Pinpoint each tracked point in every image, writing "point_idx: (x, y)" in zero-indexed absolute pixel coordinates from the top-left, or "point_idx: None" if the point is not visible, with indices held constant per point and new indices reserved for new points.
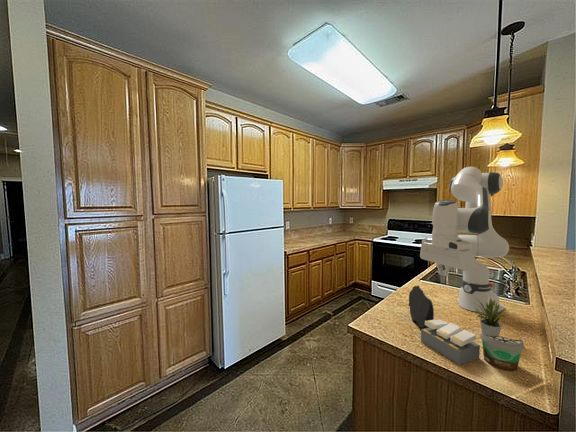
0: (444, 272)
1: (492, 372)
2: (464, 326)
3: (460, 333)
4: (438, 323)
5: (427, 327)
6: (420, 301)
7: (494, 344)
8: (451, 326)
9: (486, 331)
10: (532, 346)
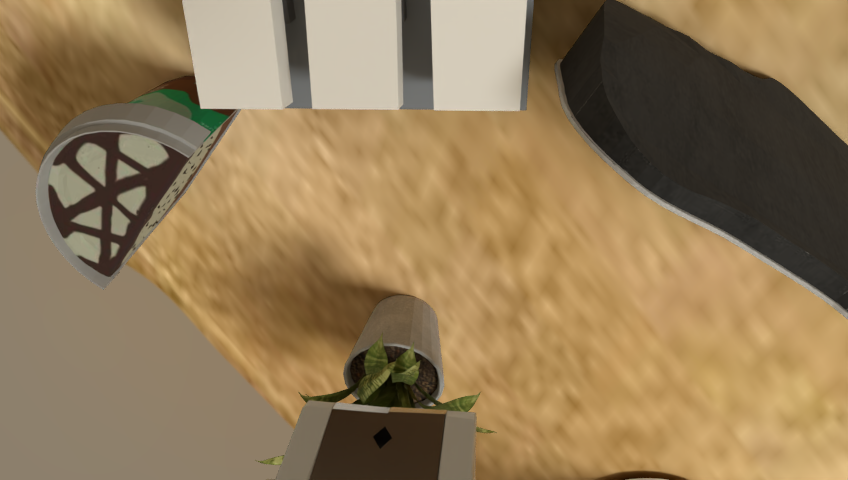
0: (306, 464)
1: (139, 13)
2: (536, 317)
3: (260, 34)
4: (451, 18)
5: (586, 27)
6: (799, 205)
7: (94, 111)
8: (358, 63)
9: (391, 319)
10: (293, 386)
